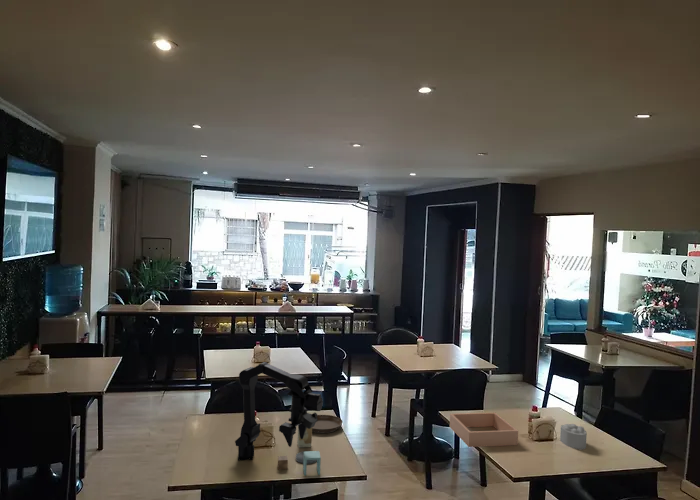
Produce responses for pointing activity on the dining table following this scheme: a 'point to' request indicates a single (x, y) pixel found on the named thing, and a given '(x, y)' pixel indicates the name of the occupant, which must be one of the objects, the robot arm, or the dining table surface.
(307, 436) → the skincare box
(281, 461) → the walnut block
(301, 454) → the grey domed disc
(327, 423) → the plant saucer
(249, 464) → the dining table surface
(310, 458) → the teal arch
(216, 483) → the dining table surface
